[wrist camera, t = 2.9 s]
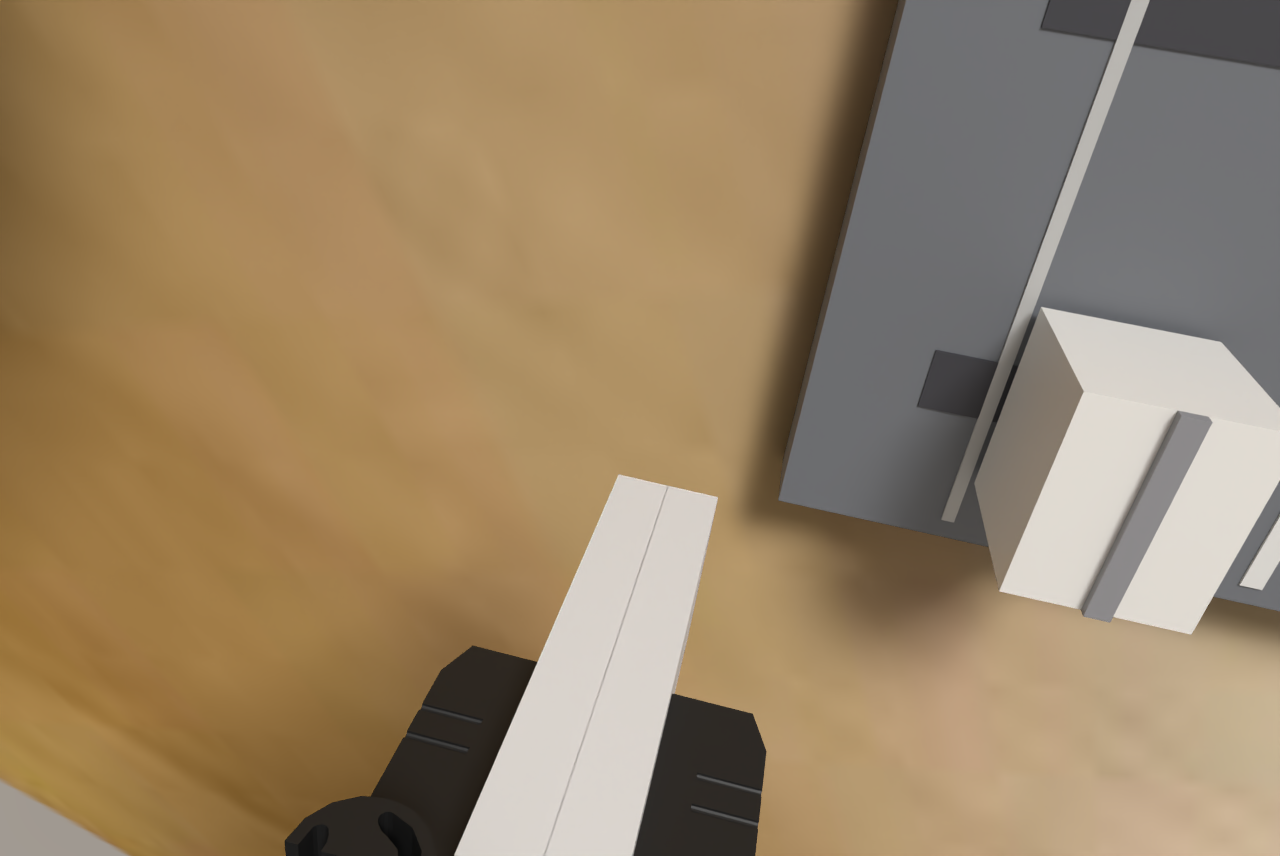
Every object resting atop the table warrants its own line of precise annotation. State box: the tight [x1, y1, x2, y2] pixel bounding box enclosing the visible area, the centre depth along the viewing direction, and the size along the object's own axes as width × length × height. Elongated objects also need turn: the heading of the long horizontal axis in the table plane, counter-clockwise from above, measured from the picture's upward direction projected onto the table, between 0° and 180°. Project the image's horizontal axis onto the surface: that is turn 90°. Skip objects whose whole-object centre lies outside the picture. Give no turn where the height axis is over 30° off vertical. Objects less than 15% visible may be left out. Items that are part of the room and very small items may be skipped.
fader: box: [974, 307, 1280, 634], centre depth 18 cm, size 4×4×4 cm
